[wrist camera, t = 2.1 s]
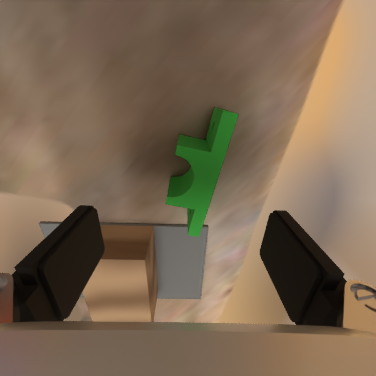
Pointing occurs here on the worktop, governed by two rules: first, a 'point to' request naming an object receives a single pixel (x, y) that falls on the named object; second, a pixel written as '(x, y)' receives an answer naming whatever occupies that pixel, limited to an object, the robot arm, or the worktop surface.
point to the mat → (171, 258)
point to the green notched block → (201, 168)
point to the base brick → (124, 276)
